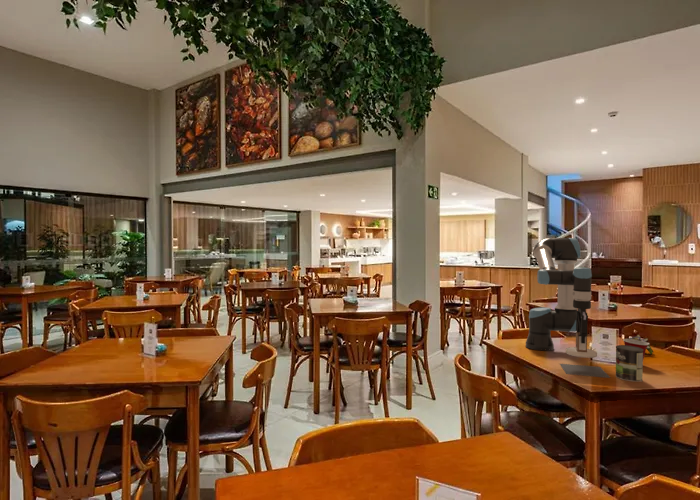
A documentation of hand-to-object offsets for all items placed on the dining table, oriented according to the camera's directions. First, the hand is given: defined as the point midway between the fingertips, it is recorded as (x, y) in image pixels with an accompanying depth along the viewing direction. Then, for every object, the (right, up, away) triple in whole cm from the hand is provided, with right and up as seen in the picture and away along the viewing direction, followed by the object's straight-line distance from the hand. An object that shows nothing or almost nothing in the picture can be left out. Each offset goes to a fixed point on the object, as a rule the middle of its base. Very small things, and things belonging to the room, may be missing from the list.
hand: (581, 348), depth 198 cm
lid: (0, -3, 0) cm, 3 cm away
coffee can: (+15, -11, -12) cm, 22 cm away
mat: (+1, -11, -1) cm, 11 cm away
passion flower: (+52, -11, +35) cm, 64 cm away
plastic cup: (+34, -11, +12) cm, 38 cm away
